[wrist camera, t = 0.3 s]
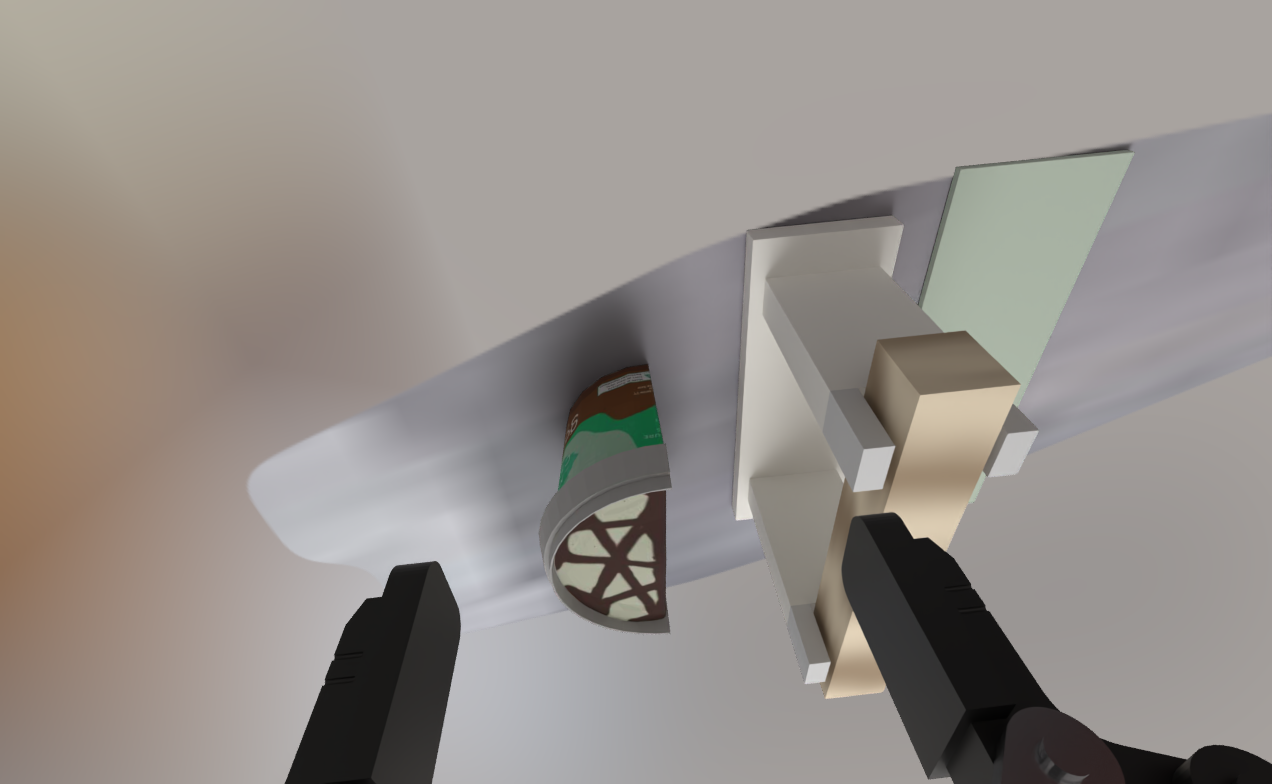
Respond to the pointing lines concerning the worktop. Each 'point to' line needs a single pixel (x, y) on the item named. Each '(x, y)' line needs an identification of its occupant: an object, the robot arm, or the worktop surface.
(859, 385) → the rack
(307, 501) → the worktop surface
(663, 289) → the worktop surface
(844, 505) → the rail
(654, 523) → the food container
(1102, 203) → the mat
